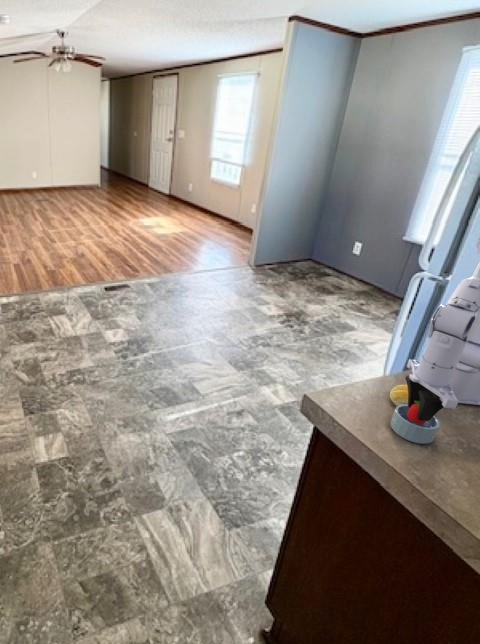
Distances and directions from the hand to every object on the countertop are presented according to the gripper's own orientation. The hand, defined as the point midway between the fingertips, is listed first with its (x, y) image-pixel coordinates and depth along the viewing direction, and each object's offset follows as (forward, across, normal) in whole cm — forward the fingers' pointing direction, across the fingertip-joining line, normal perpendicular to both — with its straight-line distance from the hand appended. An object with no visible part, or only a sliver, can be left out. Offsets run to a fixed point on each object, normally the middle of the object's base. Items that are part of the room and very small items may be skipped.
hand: (418, 413), depth 92 cm
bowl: (+5, 0, 0) cm, 5 cm away
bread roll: (+6, -11, +5) cm, 13 cm away
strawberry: (+1, 0, 0) cm, 1 cm away
